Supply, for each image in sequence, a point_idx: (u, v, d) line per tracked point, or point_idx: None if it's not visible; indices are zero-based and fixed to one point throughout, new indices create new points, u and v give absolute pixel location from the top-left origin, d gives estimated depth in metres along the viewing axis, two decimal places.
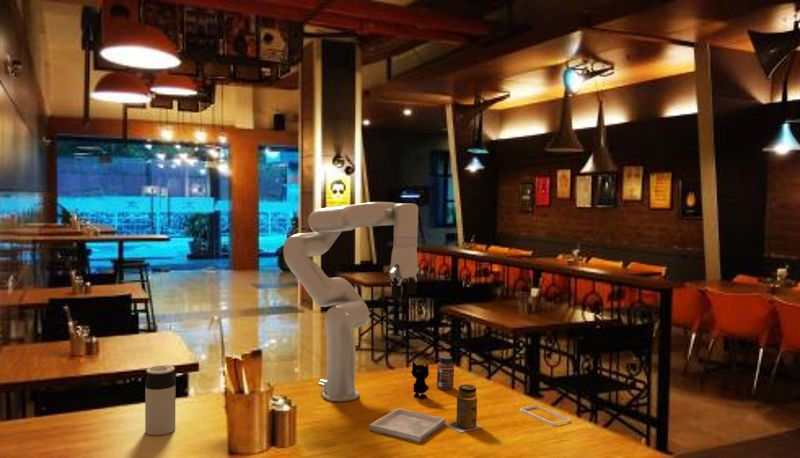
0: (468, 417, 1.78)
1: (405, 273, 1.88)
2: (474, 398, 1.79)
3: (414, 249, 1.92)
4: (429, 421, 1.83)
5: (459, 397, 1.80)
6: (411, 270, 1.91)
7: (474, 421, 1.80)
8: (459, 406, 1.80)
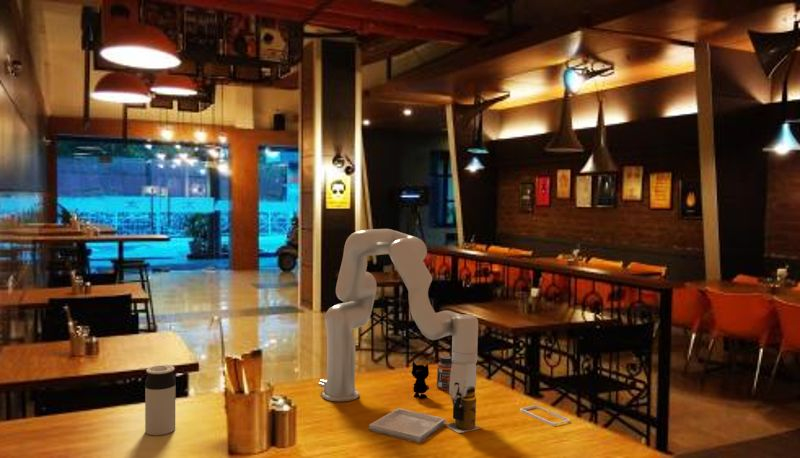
0: (467, 418, 1.78)
1: (465, 391, 1.77)
2: (473, 399, 1.78)
3: (474, 363, 1.81)
4: (429, 421, 1.83)
5: (458, 398, 1.79)
6: (471, 386, 1.80)
7: (473, 422, 1.79)
8: None
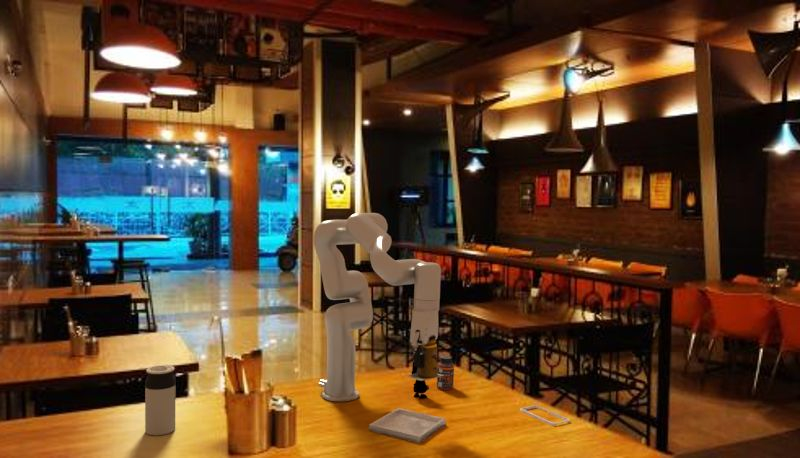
0: (429, 366, 1.76)
1: (426, 339, 1.75)
2: (434, 346, 1.76)
3: (436, 312, 1.78)
4: (429, 421, 1.83)
5: (419, 346, 1.77)
6: (432, 335, 1.78)
7: (435, 369, 1.77)
8: None
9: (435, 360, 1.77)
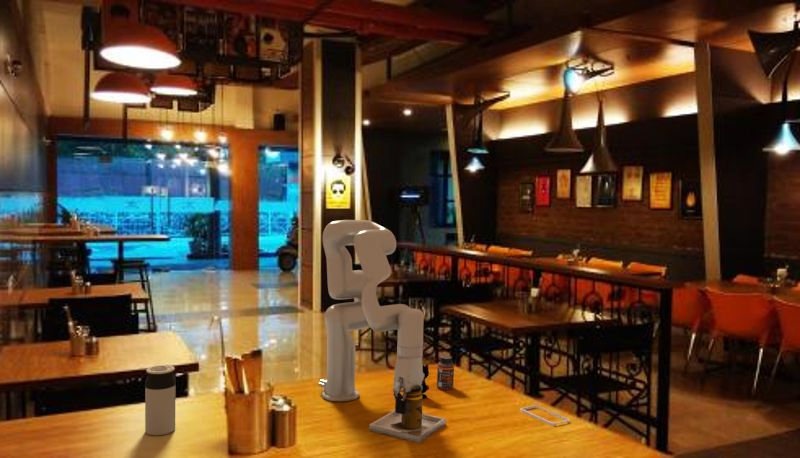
0: (413, 418, 1.75)
1: (410, 386, 1.74)
2: (419, 398, 1.76)
3: (419, 358, 1.78)
4: (429, 421, 1.83)
5: None
6: (416, 381, 1.77)
7: (419, 421, 1.76)
8: None
9: (419, 412, 1.76)
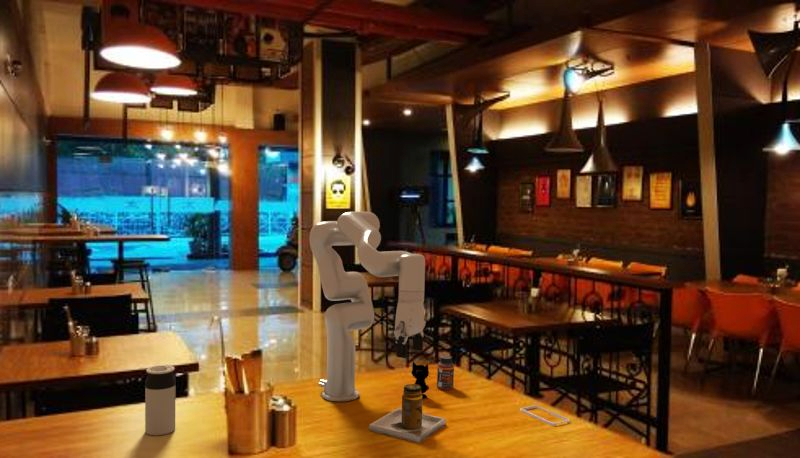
0: (413, 418, 1.75)
1: (411, 330, 1.74)
2: (419, 398, 1.76)
3: (421, 303, 1.77)
4: (429, 421, 1.83)
5: (404, 397, 1.77)
6: (417, 326, 1.77)
7: (419, 421, 1.76)
8: (403, 406, 1.76)
9: (419, 412, 1.76)
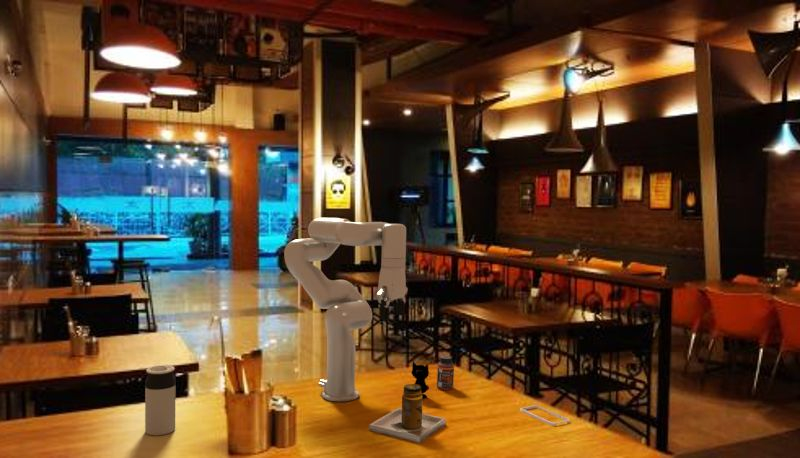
0: (413, 418, 1.75)
1: (393, 295, 1.86)
2: (419, 398, 1.76)
3: (402, 270, 1.89)
4: (429, 421, 1.83)
5: (404, 397, 1.77)
6: (399, 291, 1.89)
7: (419, 421, 1.76)
8: (403, 406, 1.76)
9: (419, 412, 1.76)
